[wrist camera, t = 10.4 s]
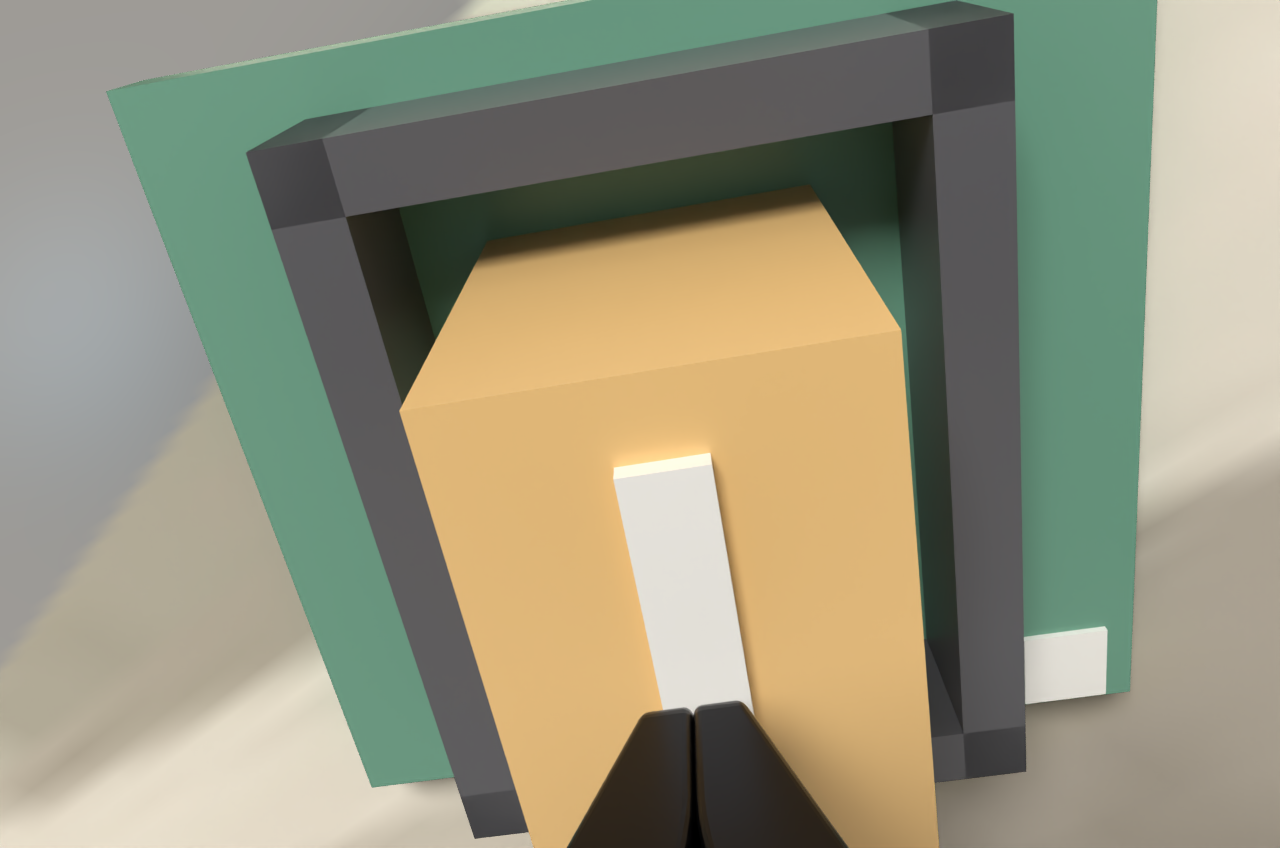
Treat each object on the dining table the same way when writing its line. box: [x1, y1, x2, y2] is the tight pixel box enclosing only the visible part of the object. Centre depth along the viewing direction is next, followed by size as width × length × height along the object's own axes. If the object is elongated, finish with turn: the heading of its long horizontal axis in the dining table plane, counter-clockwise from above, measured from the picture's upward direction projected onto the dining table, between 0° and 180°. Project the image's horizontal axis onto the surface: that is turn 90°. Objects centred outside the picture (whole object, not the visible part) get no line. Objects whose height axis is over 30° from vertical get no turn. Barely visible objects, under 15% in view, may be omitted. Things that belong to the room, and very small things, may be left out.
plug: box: [399, 185, 939, 848], centre depth 12 cm, size 6×4×5 cm, turn 10°
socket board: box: [107, 0, 1157, 839], centre depth 13 cm, size 11×12×3 cm
